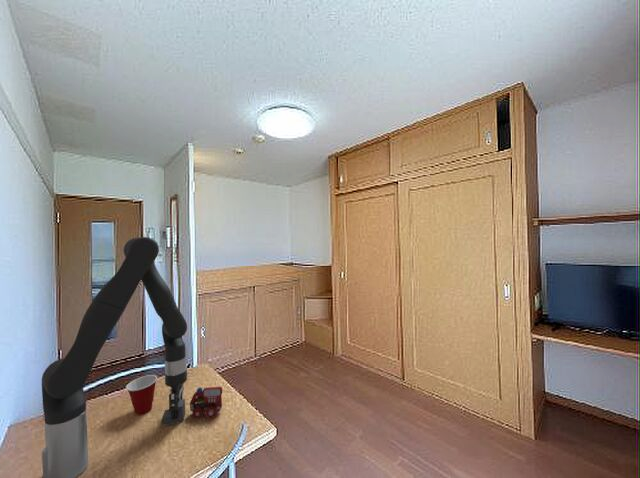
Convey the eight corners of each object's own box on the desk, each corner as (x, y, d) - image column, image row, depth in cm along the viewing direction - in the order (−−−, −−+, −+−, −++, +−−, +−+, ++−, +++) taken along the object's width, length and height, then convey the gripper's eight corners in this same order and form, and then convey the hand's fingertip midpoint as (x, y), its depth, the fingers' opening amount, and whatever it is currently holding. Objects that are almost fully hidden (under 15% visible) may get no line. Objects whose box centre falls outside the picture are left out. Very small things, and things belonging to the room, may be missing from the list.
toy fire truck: (195, 408, 115) (194, 382, 115) (225, 407, 115) (224, 382, 115) (187, 419, 108) (186, 392, 108) (219, 418, 108) (218, 391, 108)
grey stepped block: (162, 425, 105) (161, 409, 105) (165, 417, 109) (165, 402, 109) (182, 421, 107) (182, 406, 107) (185, 414, 111) (184, 398, 111)
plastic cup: (125, 409, 115) (124, 380, 115) (156, 399, 121) (155, 372, 121) (127, 423, 106) (126, 391, 106) (160, 412, 113) (159, 382, 113)
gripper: (169, 363, 114) (170, 403, 114) (160, 380, 100) (161, 426, 100) (189, 360, 116) (190, 399, 116) (183, 377, 102) (184, 421, 103)
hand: (177, 411), depth 108 cm, fingers open, 8 cm apart
